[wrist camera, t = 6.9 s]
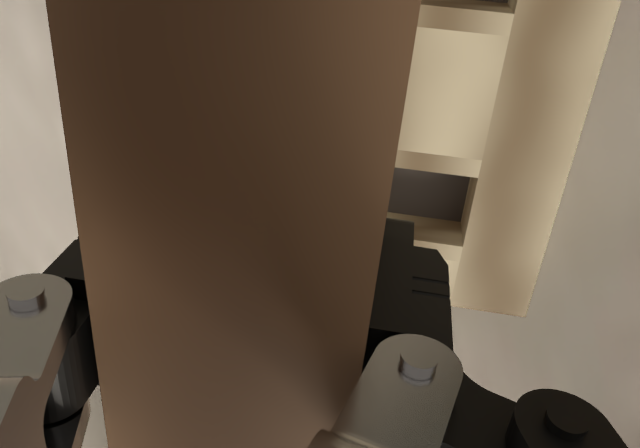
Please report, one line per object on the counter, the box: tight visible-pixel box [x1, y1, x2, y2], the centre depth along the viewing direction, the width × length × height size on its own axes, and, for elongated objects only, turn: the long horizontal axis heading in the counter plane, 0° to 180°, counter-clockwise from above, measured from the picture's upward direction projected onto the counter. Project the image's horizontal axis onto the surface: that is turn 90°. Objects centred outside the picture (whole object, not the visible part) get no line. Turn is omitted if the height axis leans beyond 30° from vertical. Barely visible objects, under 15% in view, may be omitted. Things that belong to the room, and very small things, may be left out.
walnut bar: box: [46, 0, 421, 448], centre depth 12 cm, size 4×14×6 cm, turn 175°
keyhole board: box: [387, 0, 621, 317], centre depth 25 cm, size 16×20×2 cm
